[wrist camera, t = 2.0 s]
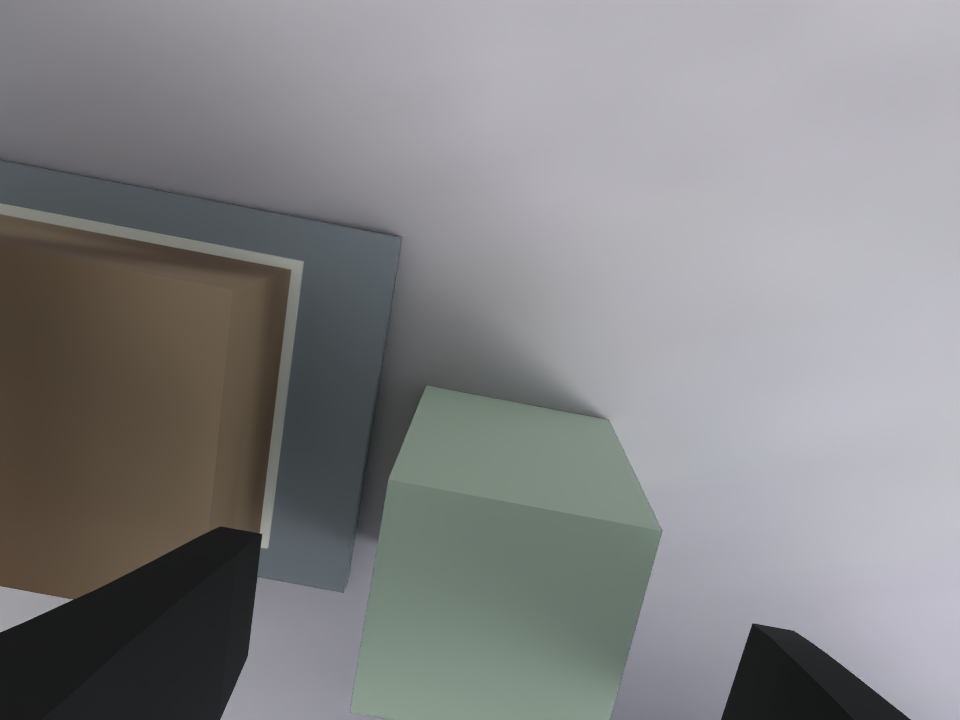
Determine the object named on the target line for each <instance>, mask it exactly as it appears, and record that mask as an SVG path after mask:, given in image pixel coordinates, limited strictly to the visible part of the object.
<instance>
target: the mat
mask: <svg viewBox="0 0 960 720" xmlns="http://www.w3.org/2000/svg"><path fill="white" fill-rule="evenodd" d="M0 214H2V215H7V216H12V217H18V218H23V219H28V220H33V221H39V222H44V223H49V224H54V225H60V226H65V227H70V228H75V229H81V230H86V231H91V232H96V233H102V234H107V235H112V236H117V237H123V238H128V239H133V240H138V241H144V242H149V243H154V244H159V245H164V246H170V247H175V248H180V249H185V250H191V251H196V252H201V253H206V254H212V255H217V256H222V257H227V258H233V259H238V260H243V261H248V262H254V263H259V264H264V265H269V266H275V267H280V268H285V269H290V270H291V277H290V286H289V294H288V302H287V311H286V319H285V327H284V336H283V344H282V352H281V360H280V369H279V377H278V385H277V394H276V402H275V410H274V419H273V427H272V435H271V444H270V452H269V460H268V469H267V477H266V485H265V494H264V502H263V510H262V519H261V527H260V534H262V541H261V549H260V558H259V566H258V574H257V577H261V578H266V579H272V580H277V581H282V582H288V583H293V584H299V585H304V586H310V587H315V588H320V589H326V590H331V591H337V592H342V593H344V590H345V588H346V585H347V583H348V577H349V570H350V564H351V558H352V551H353V545H354V539H355V532H356V526H357V519H358V513H359V507H360V500H361V494H362V488H363V481H364V475H365V469H366V462H367V456H368V450H369V443H370V437H371V431H372V424H373V418H374V412H375V405H376V399H377V392H378V386H379V380H380V373H381V367H382V361H383V354H384V348H385V342H386V335H387V329H388V323H389V316H390V310H391V304H392V297H393V291H394V285H395V278H396V272H397V265H398V259H399V253H400V246H401V240H402V237H399V236H394V235H389V234H383V233H378V232H373V231H368V230H362V229H357V228H352V227H347V226H342V225H336V224H331V223H326V222H321V221H316V220H310V219H305V218H300V217H295V216H289V215H284V214H279V213H274V212H269V211H263V210H258V209H253V208H248V207H243V206H237V205H232V204H227V203H222V202H216V201H211V200H206V199H201V198H196V197H190V196H185V195H180V194H175V193H170V192H164V191H159V190H154V189H149V188H144V187H138V186H133V185H128V184H123V183H117V182H112V181H107V180H102V179H97V178H91V177H86V176H81V175H76V174H71V173H65V172H60V171H55V170H50V169H44V168H39V167H34V166H29V165H24V164H18V163H13V162H8V161H3V160H0Z"/></svg>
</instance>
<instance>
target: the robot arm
mask: <svg viewBox="0 0 960 720" xmlns="http://www.w3.org/2000/svg"><path fill="white" fill-rule="evenodd" d="M261 541H262V534H260V533H255V532H249V531H244V530H238V529H233V528H228V527H222V526H220V527H218V528H215V529H213V530H211V531H209V532H207V533H205V534H203V535H201V536H199V537H197V538H195V539H193V540H191V541H189V542H187V543H185V544H184V545H182V546H180V547H178V548H176V549H174V550H172V551H170V552H168V553H166V554H165V555H163V556H161V557H159V558H157V559H155V560H153V561H151V562H149V563H147V564H145V565H143V566H141V567H139V568H137V569H136V570H134V571H132V572H130V573H128V574H126V575H124V576H122V577H120V578H118V579H116V580H114V581H112V582H110V583H108V584H106V585H104V586H102V587H100V588H98V589H96V590H94V591H92V592H89V593H87V594H85V595H83V596H81V597H78V598H76V599H74V600H72V601H70V602H68V603H65V604H63V605H61V606H59V607H57V608H55V609H52V610H50V611H48V612H46V613H44V614H42V615H39V616H37V617H35V618H33V619H31V620H28V621H26V622H24V623H22V624H19V625H17V626H15V627H12V628H10V629H8V630H5V631H3V632H0V720H220V718H221V716H222V714H223V712H224V710H225V707H226V705H227V703H228V701H229V698H230V696H231V694H232V692H233V689H234V687H235V685H236V682H237V680H238V677H239V675H240V673H241V670H242V668H243V666H244V663H245V661H246V659H247V656H248V649H249V641H250V633H251V624H252V616H253V608H254V599H255V591H256V583H257V574H258V566H259V558H260V549H261ZM721 720H910V719H909V718H908V717H907V716H905V715H904V714H903V713H902V712H900V711H899V710H898V709H896V708H895V707H894V706H893V705H891V704H890V703H889V702H888V701H886V700H885V699H884V698H883V697H881V696H880V695H879V694H878V693H876V692H875V691H874V690H873V689H871V688H870V687H869V686H867V685H866V684H865V683H864V682H862V681H861V680H860V679H859V678H857V677H856V676H855V675H854V674H852V673H851V672H850V671H848V670H847V669H846V668H845V667H843V666H842V665H841V664H839V663H838V662H837V661H836V660H834V659H833V658H832V657H830V656H829V655H828V654H826V653H825V652H824V651H822V650H821V649H820V648H818V647H817V646H816V645H814V644H813V643H811V642H810V641H808V640H807V639H805V638H804V637H802V636H801V635H799V634H798V633H796V632H795V631H791V630H786V629H780V628H775V627H769V626H764V625H758V624H752V627H751V630H750V633H749V636H748V639H747V642H746V645H745V648H744V651H743V654H742V657H741V660H740V664H739V667H738V670H737V673H736V676H735V679H734V682H733V685H732V688H731V691H730V694H729V697H728V700H727V703H726V706H725V709H724V713H723V716H722V719H721Z"/></svg>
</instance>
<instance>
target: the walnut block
mask: <svg viewBox="0 0 960 720" xmlns="http://www.w3.org/2000/svg"><path fill="white" fill-rule="evenodd" d="M290 277H291V270H290V269H285V268H280V267H275V266H269V265H264V264H259V263H254V262H248V261H243V260H238V259H233V258H227V257H222V256H217V255H212V254H206V253H201V252H196V251H191V250H185V249H180V248H175V247H170V246H164V245H159V244H154V243H149V242H144V241H138V240H133V239H128V238H123V237H117V236H112V235H107V234H102V233H96V232H91V231H86V230H81V229H75V228H70V227H65V226H60V225H54V224H49V223H44V222H39V221H33V220H28V219H23V218H18V217H12V216H7V215H2V214H0V586H3V587H8V588H14V589H19V590H25V591H30V592H36V593H41V594H46V595H52V596H57V597H63V598H68V599H76V598H78V597H81V596H83V595H85V594H87V593H89V592H92V591H94V590H96V589H98V588H100V587H102V586H104V585H106V584H108V583H110V582H112V581H114V580H116V579H118V578H120V577H122V576H124V575H126V574H128V573H130V572H132V571H134V570H136V569H137V568H139V567H141V566H143V565H145V564H147V563H149V562H151V561H153V560H155V559H157V558H159V557H161V556H163V555H165V554H166V553H168V552H170V551H172V550H174V549H176V548H178V547H180V546H182V545H184V544H185V543H187V542H189V541H191V540H193V539H195V538H197V537H199V536H201V535H203V534H205V533H207V532H209V531H211V530H213V529H215V528H218V527H220V526H222V527H228V528H233V529H238V530H244V531H249V532H255V533H260V527H261V519H262V510H263V502H264V494H265V485H266V477H267V469H268V460H269V452H270V444H271V435H272V427H273V419H274V410H275V402H276V394H277V385H278V377H279V369H280V360H281V352H282V344H283V336H284V327H285V319H286V311H287V302H288V294H289V286H290Z"/></svg>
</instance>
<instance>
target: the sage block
mask: <svg viewBox="0 0 960 720" xmlns="http://www.w3.org/2000/svg"><path fill="white" fill-rule="evenodd" d="M661 534H662V529H661V527H660V525H659V523H658V521H657V519H656V516H655V514H654V512H653V510H652V508H651V506H650V504H649V502H648V500H647V498H646V496H645V494H644V491H643V489H642V487H641V485H640V483H639V481H638V479H637V477H636V475H635V473H634V471H633V468H632V466H631V464H630V462H629V460H628V458H627V456H626V454H625V452H624V450H623V448H622V446H621V443H620V441H619V439H618V437H617V435H616V433H615V431H614V429H613V427H612V425H611V423H610V420H607V419H601V418H596V417H591V416H585V415H580V414H575V413H569V412H564V411H559V410H554V409H548V408H543V407H538V406H532V405H527V404H522V403H517V402H511V401H506V400H501V399H495V398H490V397H485V396H480V395H474V394H469V393H464V392H458V391H453V390H448V389H442V388H437V387H432V386H427V385H426V387H425V390H424V392H423V395H422V397H421V400H420V402H419V405H418V407H417V410H416V412H415V415H414V417H413V420H412V422H411V425H410V427H409V429H408V432H407V434H406V437H405V439H404V442H403V444H402V447H401V449H400V452H399V454H398V457H397V459H396V462H395V464H394V467H393V469H392V472H391V474H390V477H389V479H388V484H387V490H386V496H385V502H384V508H383V514H382V520H381V526H380V532H379V538H378V544H377V550H376V556H375V562H374V568H373V574H372V580H371V586H370V592H369V598H368V604H367V610H366V616H365V622H364V628H363V634H362V640H361V646H360V652H359V658H358V664H357V670H356V676H355V682H354V688H353V694H352V700H351V706H350V712H351V713H357V714H362V715H368V716H373V717H379V718H384V719H390V720H610V718H611V714H612V711H613V707H614V704H615V700H616V696H617V693H618V689H619V686H620V682H621V678H622V675H623V671H624V668H625V664H626V660H627V657H628V653H629V650H630V646H631V642H632V639H633V635H634V631H635V628H636V624H637V621H638V617H639V613H640V610H641V606H642V603H643V599H644V595H645V592H646V588H647V585H648V581H649V577H650V574H651V570H652V567H653V563H654V559H655V556H656V552H657V549H658V545H659V541H660V538H661Z"/></svg>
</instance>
